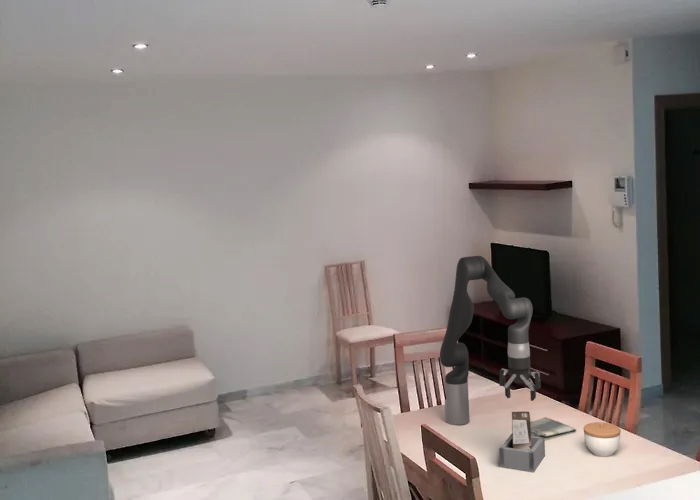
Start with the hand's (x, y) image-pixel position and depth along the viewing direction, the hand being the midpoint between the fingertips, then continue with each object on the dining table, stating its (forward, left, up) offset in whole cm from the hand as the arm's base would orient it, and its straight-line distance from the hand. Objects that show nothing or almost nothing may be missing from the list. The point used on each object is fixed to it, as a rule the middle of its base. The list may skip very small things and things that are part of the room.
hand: (520, 399), depth 251 cm
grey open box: (0, 0, -23) cm, 23 cm away
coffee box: (0, 0, -22) cm, 22 cm away
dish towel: (-1, +32, -24) cm, 40 cm away
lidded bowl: (+24, +18, -23) cm, 38 cm away
